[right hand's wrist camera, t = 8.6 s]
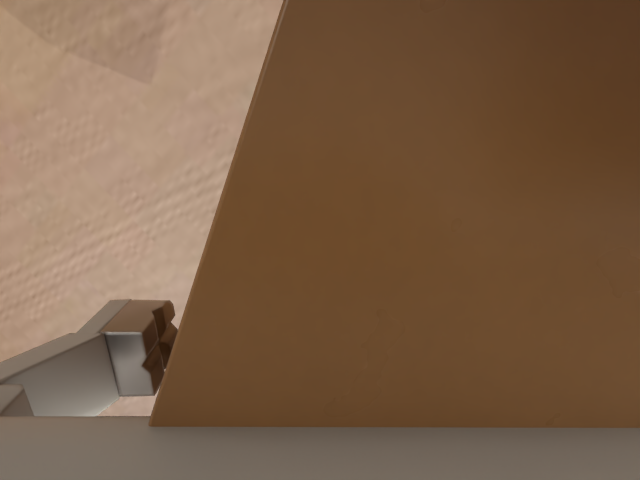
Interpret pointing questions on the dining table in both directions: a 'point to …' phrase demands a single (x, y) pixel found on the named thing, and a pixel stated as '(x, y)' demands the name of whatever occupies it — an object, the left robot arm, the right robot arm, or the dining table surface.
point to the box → (426, 225)
